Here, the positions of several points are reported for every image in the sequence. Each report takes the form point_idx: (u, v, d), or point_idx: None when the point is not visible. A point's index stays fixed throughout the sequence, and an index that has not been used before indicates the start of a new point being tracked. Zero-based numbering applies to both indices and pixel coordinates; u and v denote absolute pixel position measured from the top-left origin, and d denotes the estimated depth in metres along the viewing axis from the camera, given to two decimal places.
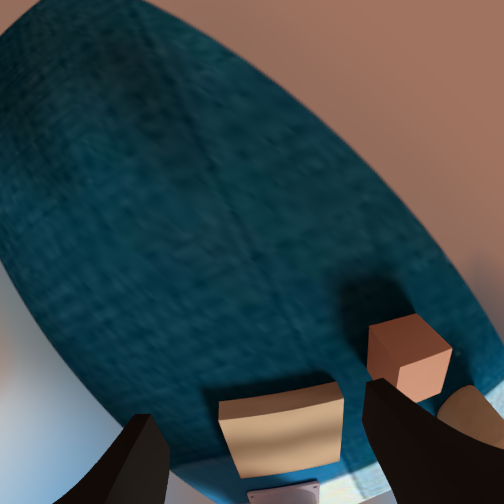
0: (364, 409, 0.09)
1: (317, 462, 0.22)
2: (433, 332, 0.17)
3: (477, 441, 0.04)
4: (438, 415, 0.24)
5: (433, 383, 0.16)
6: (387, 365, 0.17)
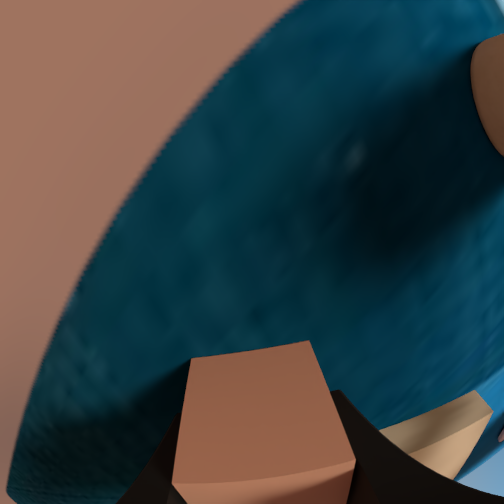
0: None
1: (470, 441, 0.11)
2: None
3: (424, 468, 0.04)
4: None
5: (295, 491, 0.05)
6: None
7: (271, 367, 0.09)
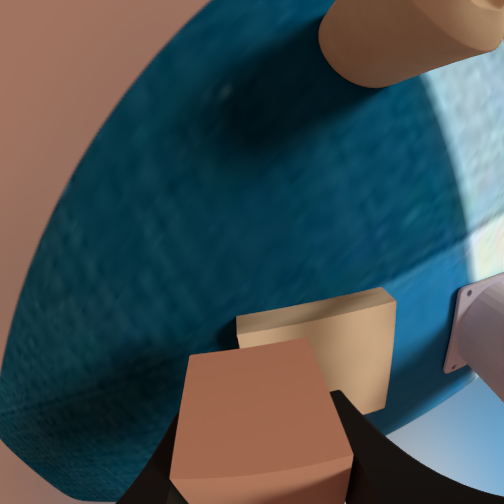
0: None
1: (382, 334, 0.16)
2: None
3: (425, 468, 0.04)
4: (377, 87, 0.14)
5: (293, 487, 0.05)
6: None
7: (269, 363, 0.09)
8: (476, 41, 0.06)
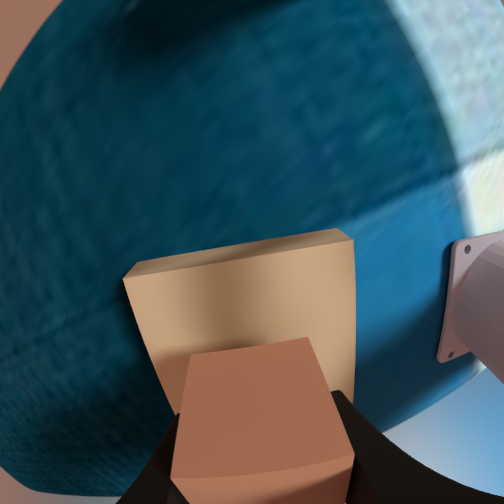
0: None
1: (335, 292, 0.12)
2: None
3: (424, 468, 0.04)
4: None
5: (294, 486, 0.05)
6: None
7: (270, 363, 0.09)
8: None
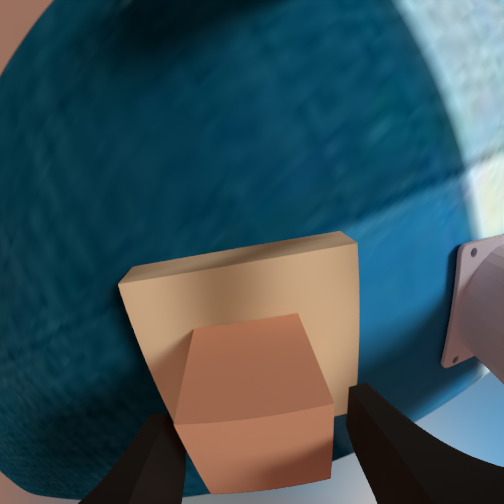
0: (347, 414, 0.09)
1: (339, 297, 0.11)
2: None
3: (458, 452, 0.04)
4: None
5: (283, 436, 0.07)
6: None
7: (264, 333, 0.10)
8: None
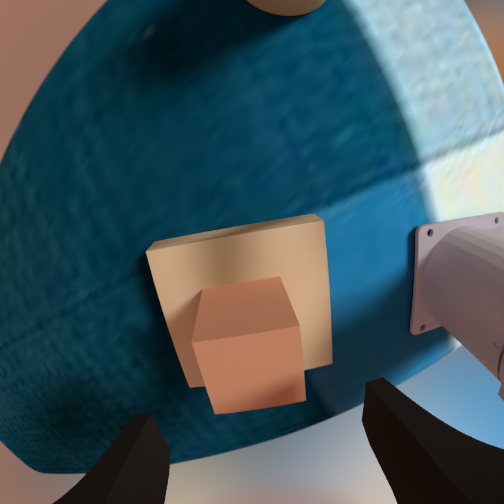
0: (364, 409, 0.09)
1: (311, 262, 0.15)
2: None
3: (477, 441, 0.04)
4: (294, 14, 0.13)
5: (266, 352, 0.11)
6: None
7: (254, 289, 0.15)
8: None
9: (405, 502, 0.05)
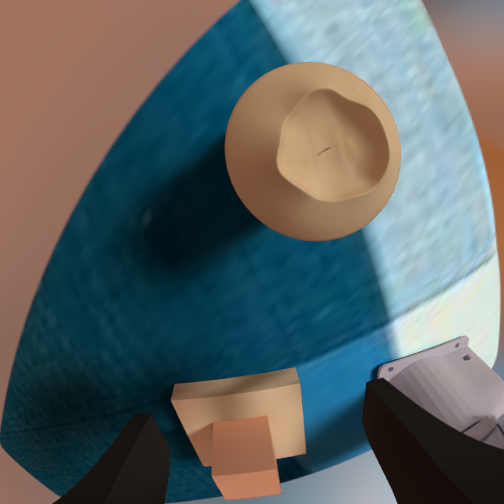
0: (364, 409, 0.09)
1: (290, 405, 0.20)
2: (213, 452, 0.17)
3: (477, 441, 0.04)
4: None
5: (256, 478, 0.15)
6: None
7: (249, 428, 0.19)
8: (329, 235, 0.09)
9: (405, 502, 0.05)
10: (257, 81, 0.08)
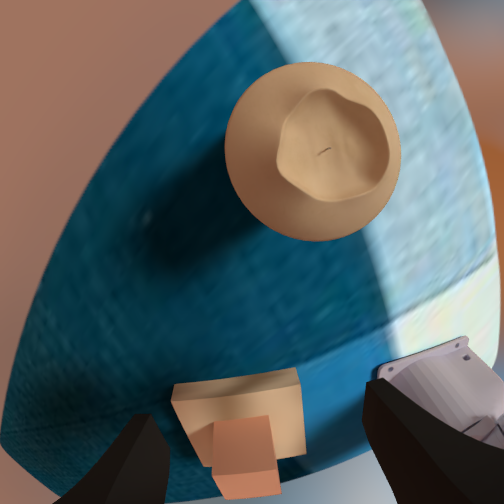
0: (364, 409, 0.09)
1: (290, 406, 0.20)
2: (213, 452, 0.17)
3: (477, 441, 0.04)
4: None
5: (256, 478, 0.15)
6: None
7: (250, 428, 0.19)
8: (329, 235, 0.09)
9: (405, 502, 0.05)
10: (257, 81, 0.08)
